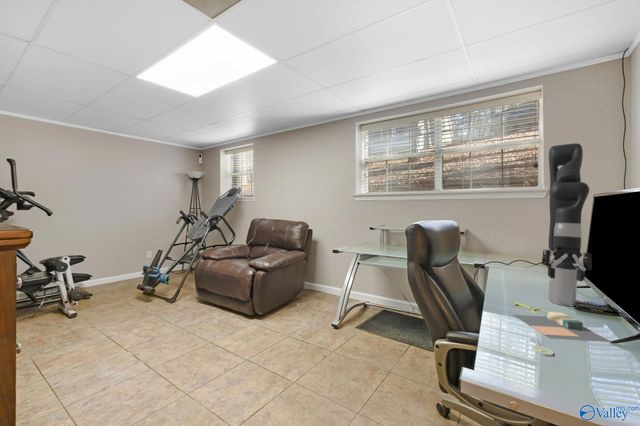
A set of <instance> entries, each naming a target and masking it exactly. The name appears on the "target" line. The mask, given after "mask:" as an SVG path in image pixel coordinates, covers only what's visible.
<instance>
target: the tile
mask: <svg viewBox="0 0 640 426" xmlns="http://www.w3.org/2000/svg"><path fill="white" fill-rule="evenodd" d="M546 313H547V314H546V315H547V316H546V317H547V318H549V319H551V320H553V321H555V322H557V323H558V324H560V325H562V326H564V327H566V328H568V329H583V325H584V323H583V322H582V321H580V320H578V319H577V318H575V317H572V316H570V315H567V314H565V313H563V312H561V311H547V312H546Z"/></svg>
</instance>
